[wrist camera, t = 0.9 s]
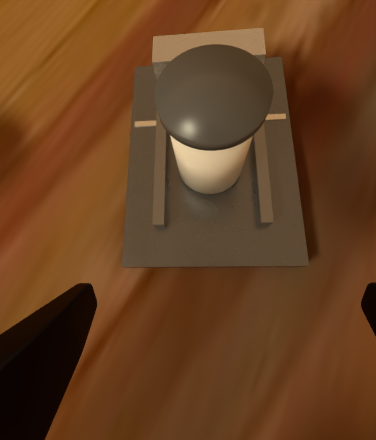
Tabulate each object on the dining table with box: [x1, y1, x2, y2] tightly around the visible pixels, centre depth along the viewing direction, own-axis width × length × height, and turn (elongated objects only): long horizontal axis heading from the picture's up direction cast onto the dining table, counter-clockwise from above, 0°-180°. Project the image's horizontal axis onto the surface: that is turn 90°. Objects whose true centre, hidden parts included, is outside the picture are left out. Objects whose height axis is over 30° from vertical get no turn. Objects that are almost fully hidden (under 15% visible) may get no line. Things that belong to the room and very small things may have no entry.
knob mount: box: [122, 28, 309, 268], centre depth 21 cm, size 22×16×6 cm
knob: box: [154, 44, 273, 194], centre depth 17 cm, size 7×7×9 cm
